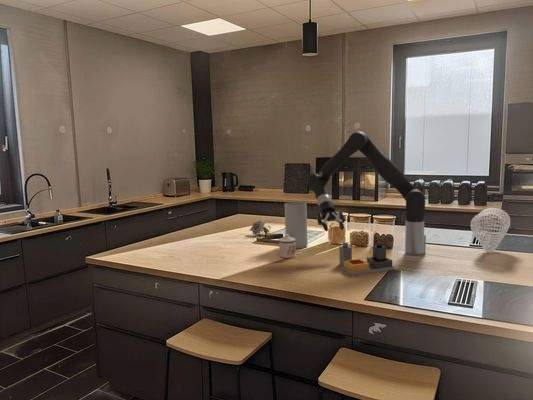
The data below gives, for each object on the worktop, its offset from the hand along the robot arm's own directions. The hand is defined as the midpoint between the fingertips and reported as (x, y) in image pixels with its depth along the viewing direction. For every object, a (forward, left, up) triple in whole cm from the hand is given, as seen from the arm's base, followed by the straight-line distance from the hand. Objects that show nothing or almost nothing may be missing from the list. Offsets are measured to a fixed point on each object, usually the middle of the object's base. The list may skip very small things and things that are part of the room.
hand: (334, 229), depth 214 cm
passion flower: (+22, -69, -15) cm, 74 cm away
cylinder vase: (+10, -31, -15) cm, 36 cm away
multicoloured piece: (-6, +23, -15) cm, 28 cm away
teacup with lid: (+20, -15, -15) cm, 29 cm away
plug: (0, +12, -15) cm, 19 cm away
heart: (-76, +22, -15) cm, 80 cm away
